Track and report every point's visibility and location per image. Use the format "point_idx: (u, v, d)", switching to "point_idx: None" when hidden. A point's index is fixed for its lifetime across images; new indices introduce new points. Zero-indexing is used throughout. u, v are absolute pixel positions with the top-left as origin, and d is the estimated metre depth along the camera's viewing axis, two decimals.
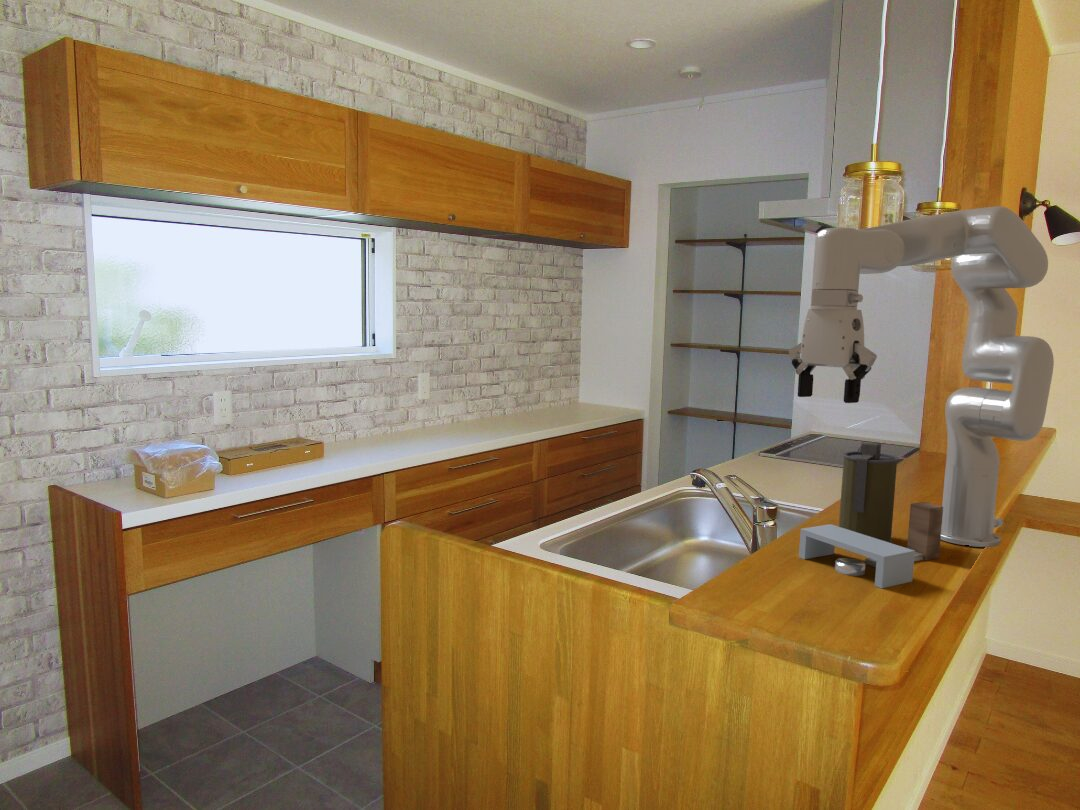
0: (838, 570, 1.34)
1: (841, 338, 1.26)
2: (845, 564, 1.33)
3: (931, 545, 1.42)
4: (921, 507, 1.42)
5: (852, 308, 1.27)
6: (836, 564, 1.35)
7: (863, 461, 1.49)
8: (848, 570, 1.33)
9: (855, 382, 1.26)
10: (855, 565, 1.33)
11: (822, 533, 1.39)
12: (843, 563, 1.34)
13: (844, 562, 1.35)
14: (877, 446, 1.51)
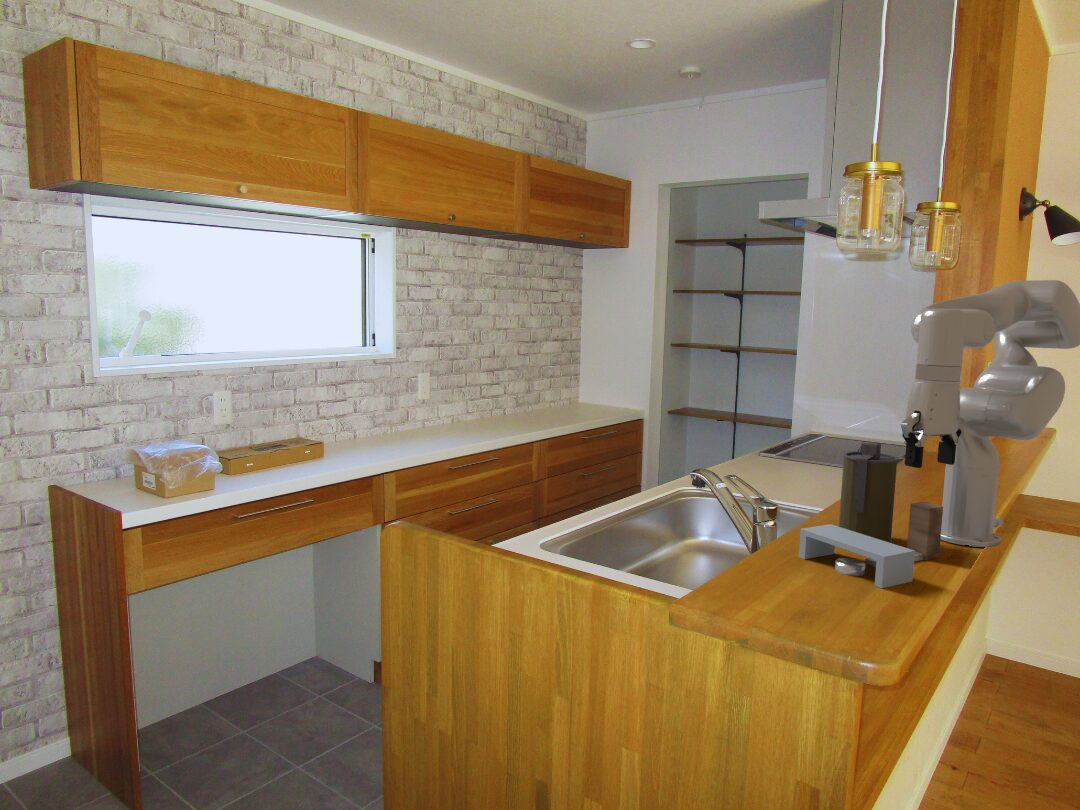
0: (838, 570, 1.34)
1: (958, 409, 1.41)
2: (845, 564, 1.33)
3: (931, 545, 1.42)
4: (921, 507, 1.42)
5: None
6: (836, 564, 1.35)
7: (863, 461, 1.49)
8: (848, 570, 1.33)
9: None
10: (855, 565, 1.33)
11: (822, 533, 1.39)
12: (843, 563, 1.34)
13: (844, 562, 1.35)
14: (877, 446, 1.51)
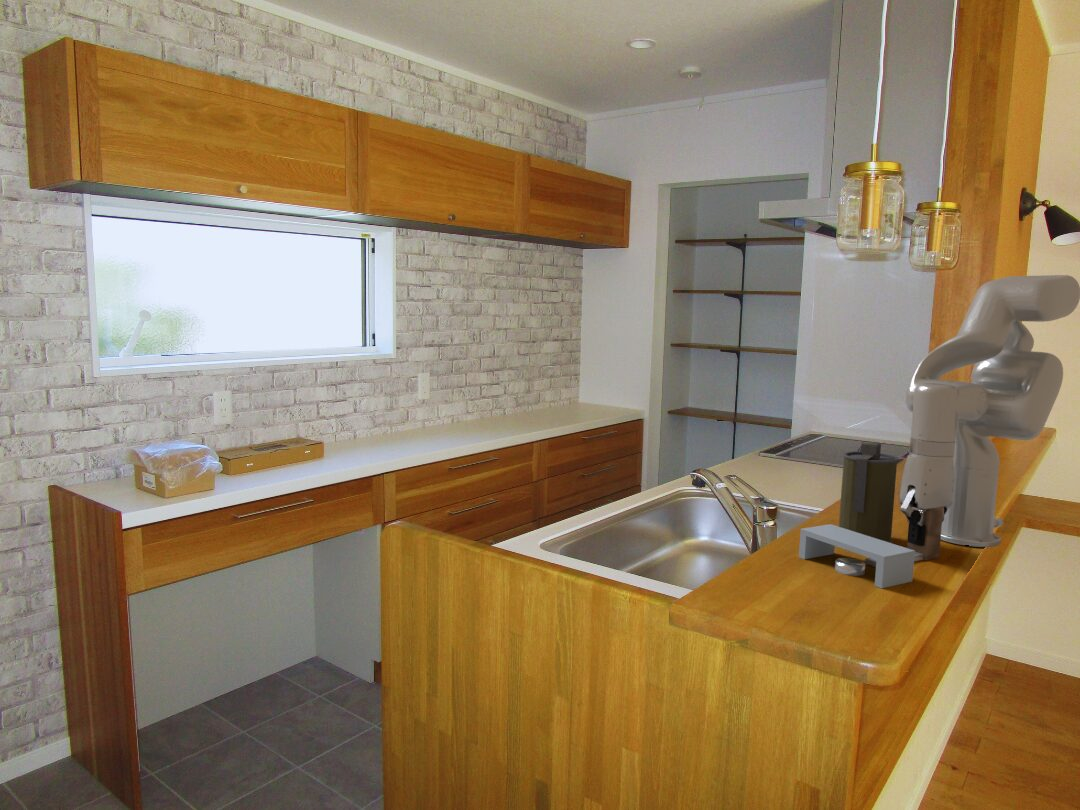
0: (838, 570, 1.34)
1: (952, 481, 1.43)
2: (845, 564, 1.33)
3: (931, 545, 1.42)
4: None
5: None
6: (836, 564, 1.35)
7: (863, 461, 1.49)
8: (848, 570, 1.33)
9: None
10: (855, 565, 1.33)
11: (822, 533, 1.39)
12: (843, 563, 1.34)
13: (844, 562, 1.35)
14: (877, 446, 1.51)
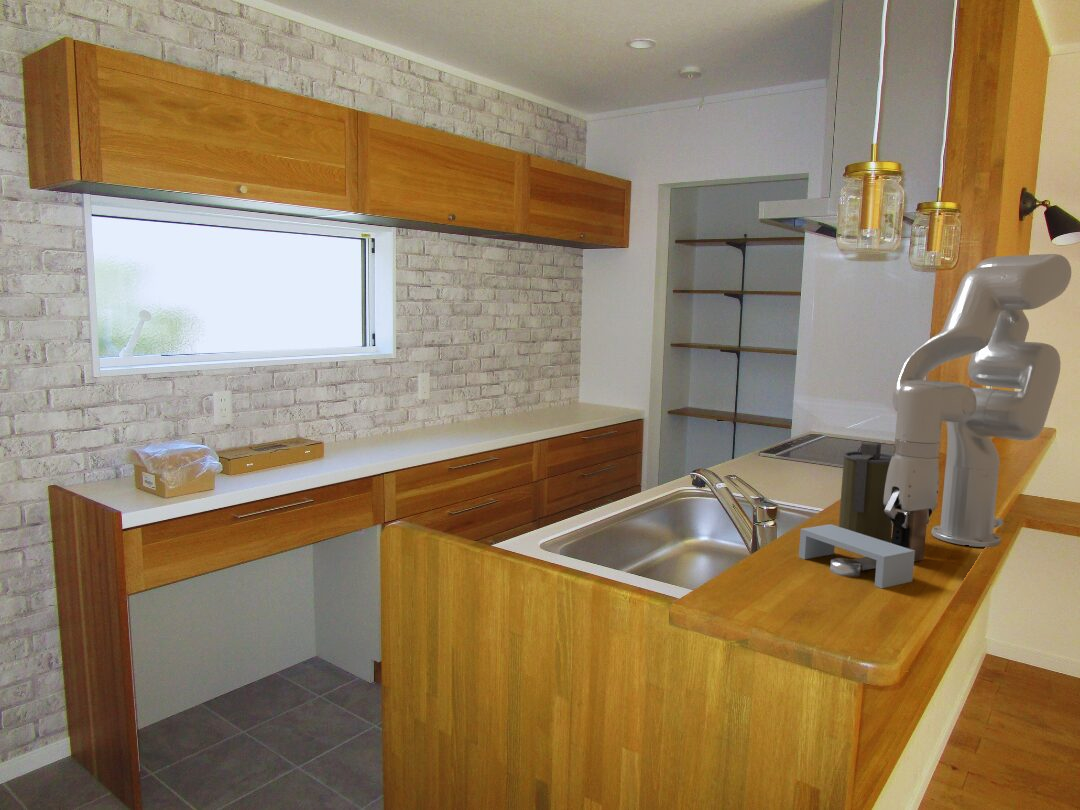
0: (833, 570, 1.34)
1: (936, 483, 1.41)
2: (840, 564, 1.33)
3: (915, 547, 1.40)
4: None
5: None
6: (831, 564, 1.34)
7: (863, 461, 1.49)
8: (843, 570, 1.32)
9: None
10: (850, 565, 1.32)
11: (822, 533, 1.39)
12: (838, 563, 1.34)
13: (839, 562, 1.34)
14: (877, 446, 1.51)
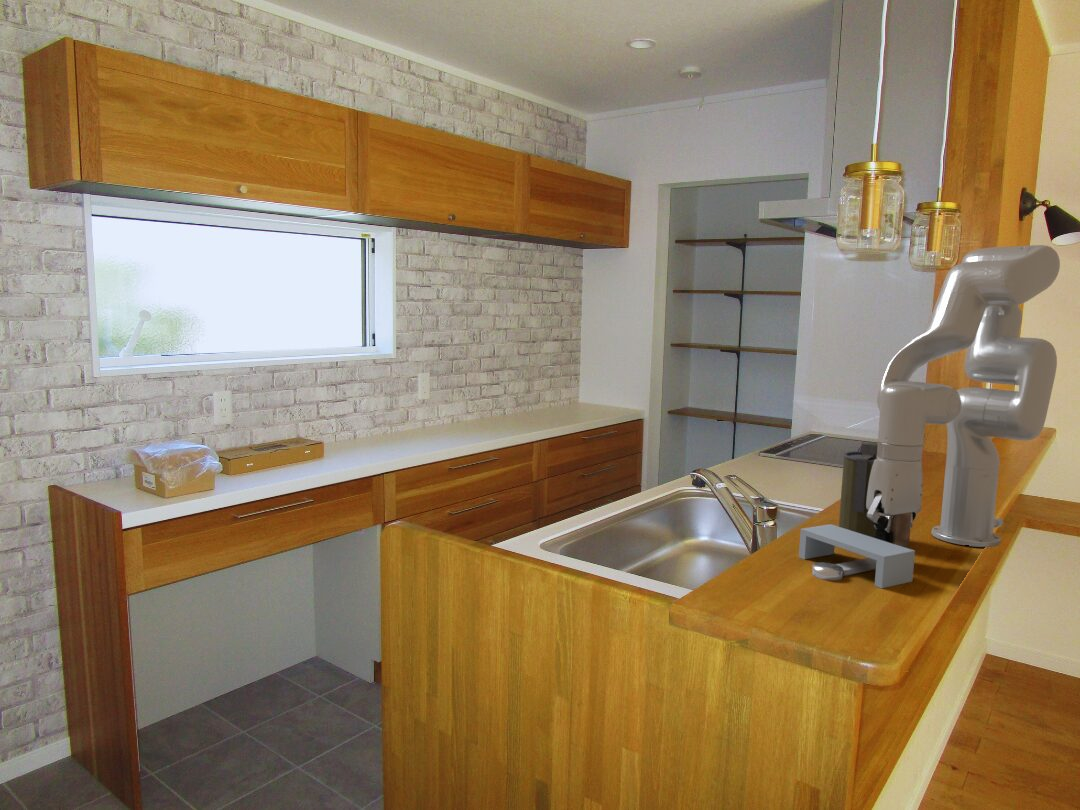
0: (815, 575, 1.31)
1: (920, 486, 1.38)
2: (822, 569, 1.31)
3: None
4: None
5: None
6: (813, 569, 1.32)
7: (863, 461, 1.49)
8: (825, 575, 1.30)
9: None
10: (832, 570, 1.30)
11: (822, 533, 1.39)
12: (820, 568, 1.31)
13: (821, 567, 1.32)
14: None
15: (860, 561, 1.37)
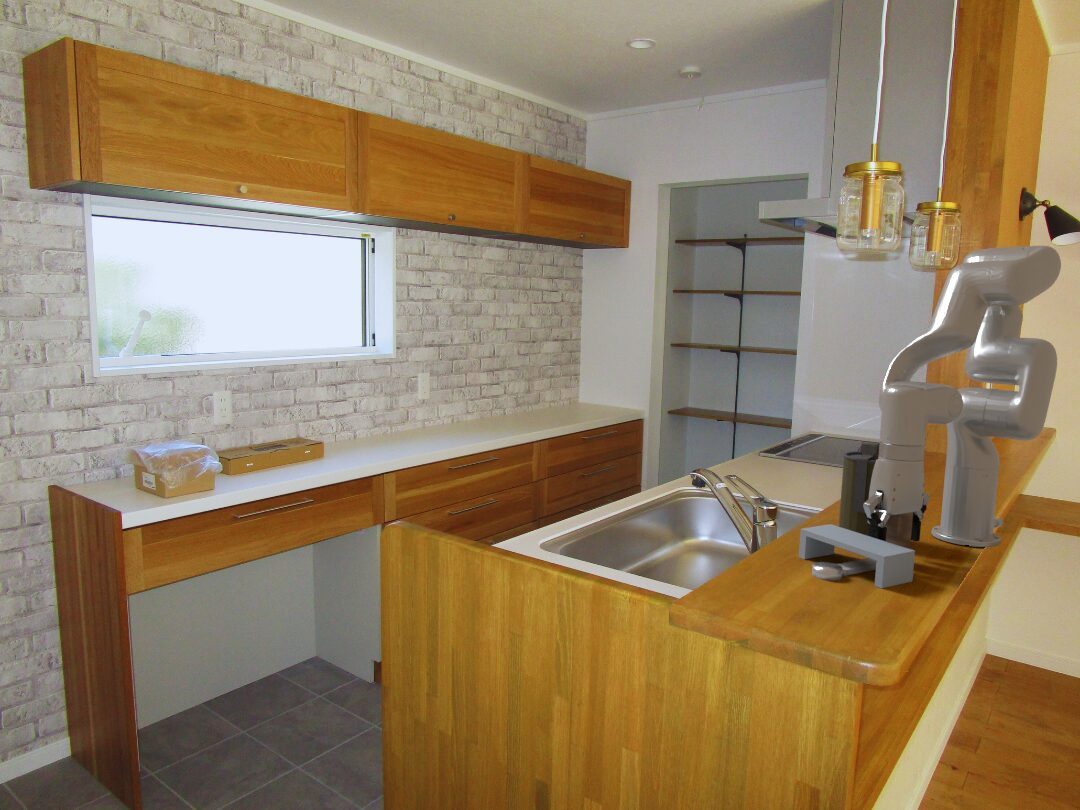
0: (816, 575, 1.31)
1: (922, 486, 1.39)
2: (822, 569, 1.31)
3: None
4: None
5: None
6: (813, 569, 1.32)
7: (863, 461, 1.49)
8: (826, 575, 1.30)
9: None
10: (832, 569, 1.30)
11: (822, 533, 1.39)
12: (820, 567, 1.31)
13: (821, 566, 1.32)
14: (877, 446, 1.51)
15: (862, 561, 1.37)
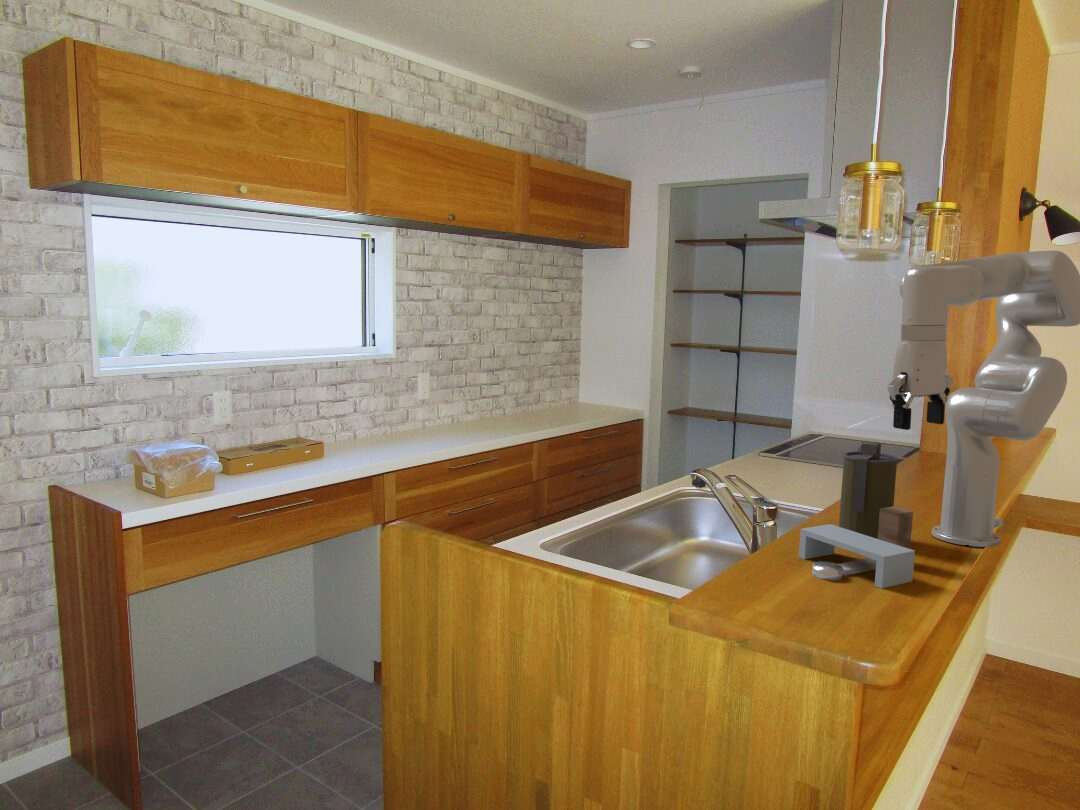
0: (817, 576, 1.31)
1: (945, 368, 1.39)
2: (824, 569, 1.30)
3: None
4: (890, 512, 1.38)
5: None
6: (814, 569, 1.31)
7: (863, 461, 1.49)
8: (828, 575, 1.30)
9: None
10: (834, 569, 1.30)
11: (822, 533, 1.39)
12: (821, 568, 1.31)
13: (822, 567, 1.32)
14: (877, 446, 1.51)
15: (862, 561, 1.37)
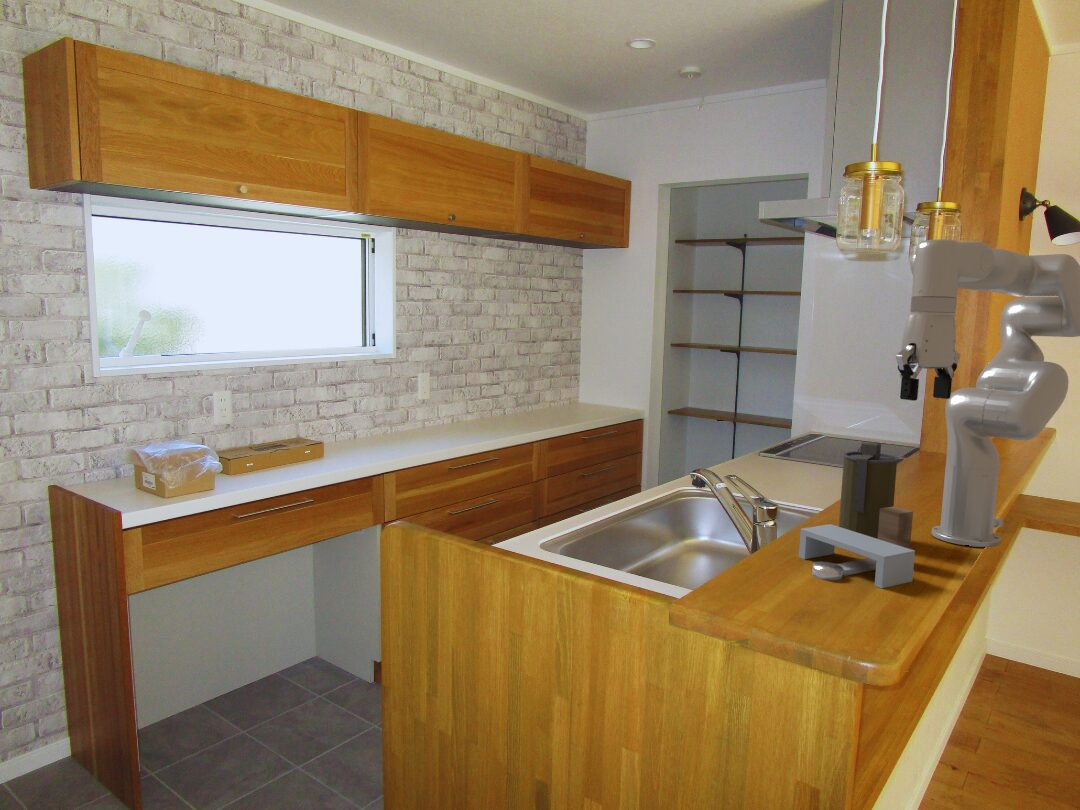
0: (819, 576, 1.31)
1: (953, 342, 1.40)
2: (826, 569, 1.30)
3: None
4: (890, 512, 1.38)
5: None
6: (816, 569, 1.31)
7: (863, 461, 1.49)
8: (831, 575, 1.30)
9: None
10: (835, 569, 1.30)
11: (822, 533, 1.39)
12: (824, 568, 1.31)
13: (823, 567, 1.32)
14: (877, 446, 1.51)
15: (862, 561, 1.37)
